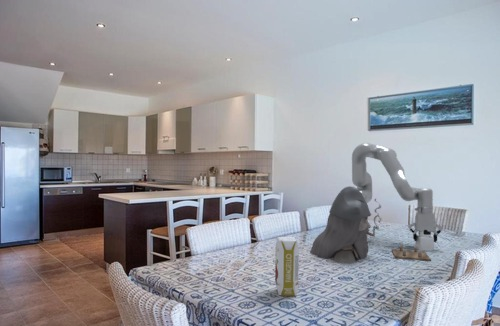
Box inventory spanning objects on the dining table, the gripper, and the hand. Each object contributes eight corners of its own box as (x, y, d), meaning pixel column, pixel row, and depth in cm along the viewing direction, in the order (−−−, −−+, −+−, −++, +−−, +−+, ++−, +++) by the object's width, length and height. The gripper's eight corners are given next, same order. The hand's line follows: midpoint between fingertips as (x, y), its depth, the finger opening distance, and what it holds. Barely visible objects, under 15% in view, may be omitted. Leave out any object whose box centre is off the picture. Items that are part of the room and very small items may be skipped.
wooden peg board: (395, 258, 168) (395, 249, 168) (391, 250, 183) (391, 242, 183) (431, 261, 163) (431, 252, 163) (424, 253, 179) (424, 244, 179)
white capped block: (428, 248, 191) (428, 226, 191) (434, 251, 184) (434, 229, 184) (415, 247, 192) (415, 226, 192) (420, 250, 184) (420, 228, 185)
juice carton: (294, 288, 124) (295, 236, 124) (299, 297, 116) (299, 241, 116) (274, 288, 124) (275, 236, 124) (277, 297, 115) (277, 241, 116)
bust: (384, 266, 154) (385, 189, 154) (309, 261, 161) (310, 187, 161) (373, 248, 187) (373, 185, 188) (310, 245, 194) (311, 184, 194)
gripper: (409, 210, 187) (409, 241, 186) (444, 212, 182) (444, 244, 181) (406, 209, 194) (407, 239, 194) (440, 210, 189) (440, 241, 189)
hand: (425, 241), depth 187 cm, fingers open, 9 cm apart
